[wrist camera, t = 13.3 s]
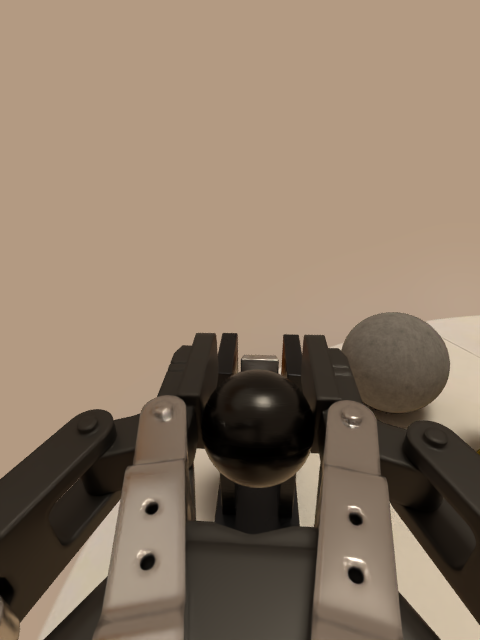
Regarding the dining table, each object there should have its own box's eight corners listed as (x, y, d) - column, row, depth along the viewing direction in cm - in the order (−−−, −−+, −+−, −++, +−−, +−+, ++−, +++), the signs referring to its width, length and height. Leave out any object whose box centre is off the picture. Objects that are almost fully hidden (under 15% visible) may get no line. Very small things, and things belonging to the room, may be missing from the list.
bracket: (300, 555, 23) (319, 398, 17) (212, 550, 24) (198, 394, 17) (292, 458, 30) (303, 321, 24) (224, 455, 31) (218, 319, 24)
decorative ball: (408, 371, 41) (429, 295, 37) (455, 434, 33) (490, 345, 28) (325, 372, 41) (335, 296, 37) (349, 436, 33) (367, 347, 28)
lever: (323, 515, 9) (325, 379, 9) (188, 508, 9) (192, 375, 9) (284, 399, 23) (285, 348, 23) (233, 398, 23) (234, 347, 23)
